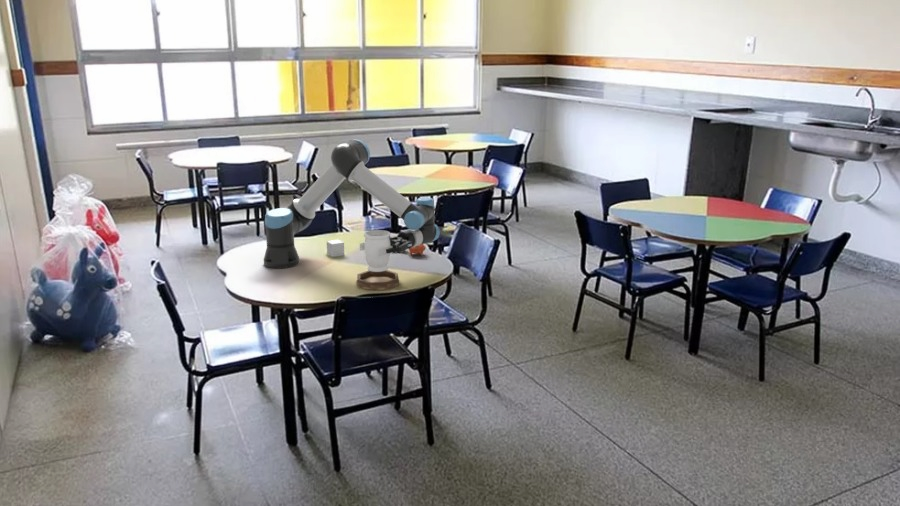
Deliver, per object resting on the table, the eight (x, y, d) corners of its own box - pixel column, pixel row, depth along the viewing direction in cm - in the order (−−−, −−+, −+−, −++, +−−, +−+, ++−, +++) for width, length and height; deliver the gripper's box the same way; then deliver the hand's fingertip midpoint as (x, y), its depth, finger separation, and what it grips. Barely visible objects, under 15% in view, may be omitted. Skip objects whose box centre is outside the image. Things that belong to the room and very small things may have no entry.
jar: (386, 274, 271) (385, 237, 267) (361, 272, 273) (360, 235, 269) (394, 266, 281) (393, 230, 277) (369, 264, 283) (368, 228, 279)
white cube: (344, 255, 314) (344, 242, 313) (332, 257, 311) (331, 244, 310) (339, 251, 319) (338, 239, 317) (327, 253, 316) (326, 240, 314)
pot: (412, 257, 311) (411, 243, 310) (406, 257, 318) (405, 242, 317) (429, 255, 314) (427, 240, 313) (423, 254, 321) (421, 240, 320)
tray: (356, 290, 269) (356, 284, 269) (356, 276, 286) (356, 270, 285) (400, 289, 272) (400, 282, 271) (398, 275, 288) (397, 269, 287)
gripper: (429, 252, 281) (389, 265, 265) (390, 242, 296) (351, 253, 280) (429, 235, 279) (389, 246, 263) (390, 225, 293) (350, 235, 277)
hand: (369, 249), depth 271 cm, fingers closed on jar, 10 cm apart
